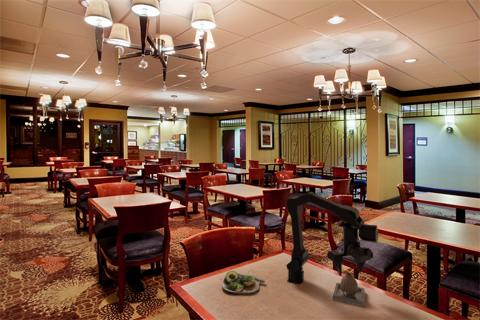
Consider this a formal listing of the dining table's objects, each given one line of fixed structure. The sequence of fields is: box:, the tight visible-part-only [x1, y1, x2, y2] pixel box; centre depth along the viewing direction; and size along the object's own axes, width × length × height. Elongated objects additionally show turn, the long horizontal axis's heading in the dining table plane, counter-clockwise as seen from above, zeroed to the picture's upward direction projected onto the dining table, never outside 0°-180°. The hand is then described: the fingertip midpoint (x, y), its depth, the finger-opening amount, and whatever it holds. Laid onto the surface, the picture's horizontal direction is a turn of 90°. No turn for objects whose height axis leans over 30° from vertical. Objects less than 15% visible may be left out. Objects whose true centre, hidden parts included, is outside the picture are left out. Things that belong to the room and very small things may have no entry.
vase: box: [339, 272, 359, 296], centre depth 120 cm, size 7×7×9 cm
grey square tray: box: [331, 282, 366, 308], centre depth 120 cm, size 12×12×2 cm
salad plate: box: [221, 270, 266, 295], centre depth 130 cm, size 19×18×5 cm
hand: (349, 274), depth 119 cm, fingers open, 9 cm apart
